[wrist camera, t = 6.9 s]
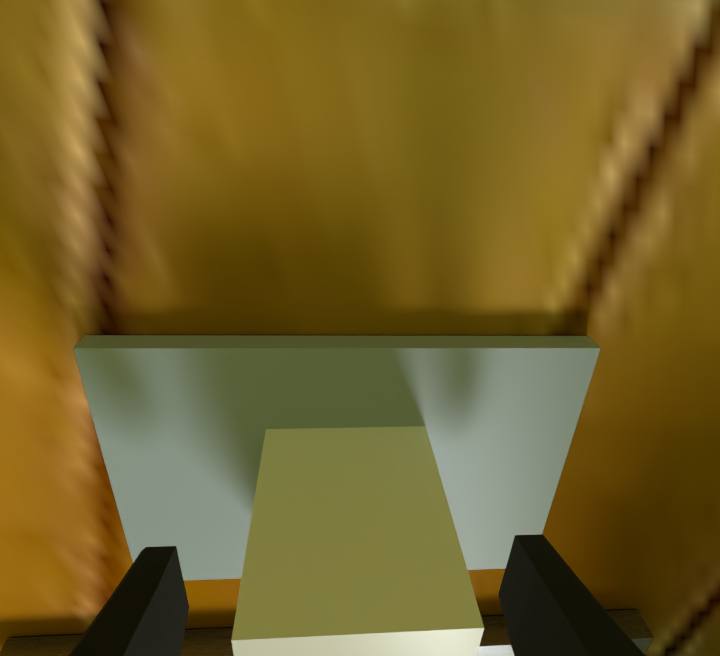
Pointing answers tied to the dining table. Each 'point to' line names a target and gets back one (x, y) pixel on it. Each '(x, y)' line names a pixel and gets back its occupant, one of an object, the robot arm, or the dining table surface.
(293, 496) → the peg
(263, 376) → the pad
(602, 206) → the dining table surface
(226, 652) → the grey slotted frame
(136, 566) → the robot arm
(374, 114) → the dining table surface
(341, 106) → the dining table surface
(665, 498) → the dining table surface
